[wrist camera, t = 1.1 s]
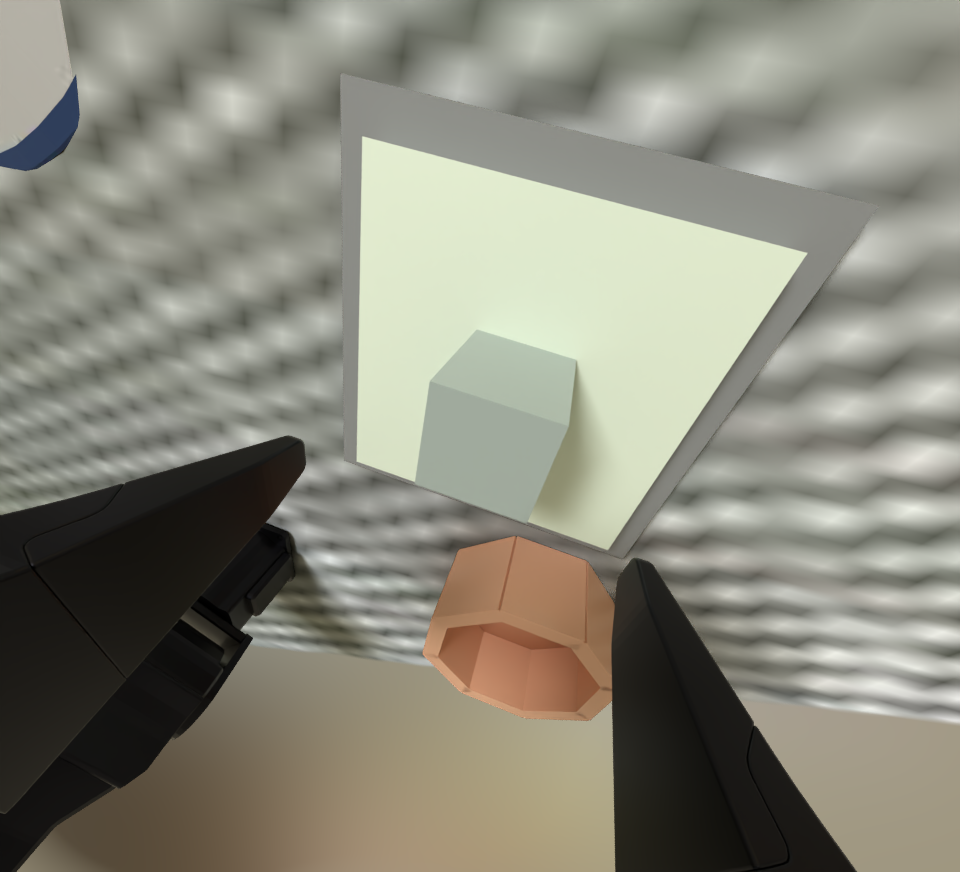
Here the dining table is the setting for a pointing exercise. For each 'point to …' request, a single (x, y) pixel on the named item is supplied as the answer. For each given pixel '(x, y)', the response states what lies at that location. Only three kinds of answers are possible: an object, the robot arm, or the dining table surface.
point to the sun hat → (34, 84)
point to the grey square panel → (609, 176)
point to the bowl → (525, 631)
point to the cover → (540, 337)
